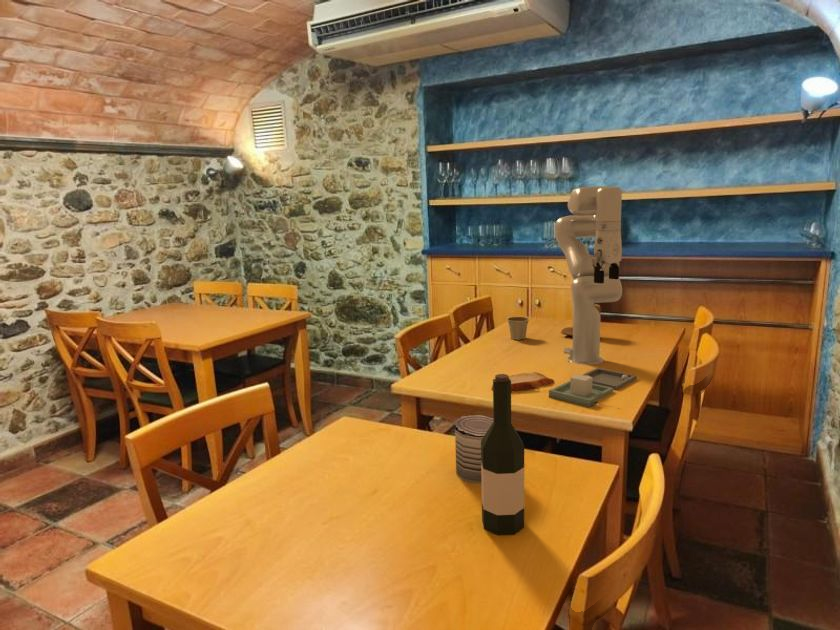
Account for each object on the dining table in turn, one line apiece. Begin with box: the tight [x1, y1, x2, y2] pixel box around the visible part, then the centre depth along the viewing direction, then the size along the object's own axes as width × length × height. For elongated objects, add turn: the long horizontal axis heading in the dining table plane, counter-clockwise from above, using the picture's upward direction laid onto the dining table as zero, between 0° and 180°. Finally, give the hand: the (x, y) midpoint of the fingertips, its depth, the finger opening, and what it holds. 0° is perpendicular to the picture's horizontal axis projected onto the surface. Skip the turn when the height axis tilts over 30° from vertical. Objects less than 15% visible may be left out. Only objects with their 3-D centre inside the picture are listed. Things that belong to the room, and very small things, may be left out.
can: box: [452, 414, 493, 485], centre depth 135 cm, size 11×11×12 cm
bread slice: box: [491, 371, 555, 393], centre depth 194 cm, size 18×18×4 cm
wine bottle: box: [481, 373, 525, 536], centre depth 112 cm, size 8×8×30 cm
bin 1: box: [548, 380, 614, 408], centre depth 183 cm, size 14×14×2 cm
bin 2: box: [582, 367, 638, 391], centre depth 194 cm, size 14×14×3 cm
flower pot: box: [506, 316, 530, 341], centre depth 254 cm, size 9×9×9 cm
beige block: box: [569, 373, 593, 396], centre depth 182 cm, size 5×4×5 cm
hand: (606, 280), depth 190 cm, fingers open, 9 cm apart
